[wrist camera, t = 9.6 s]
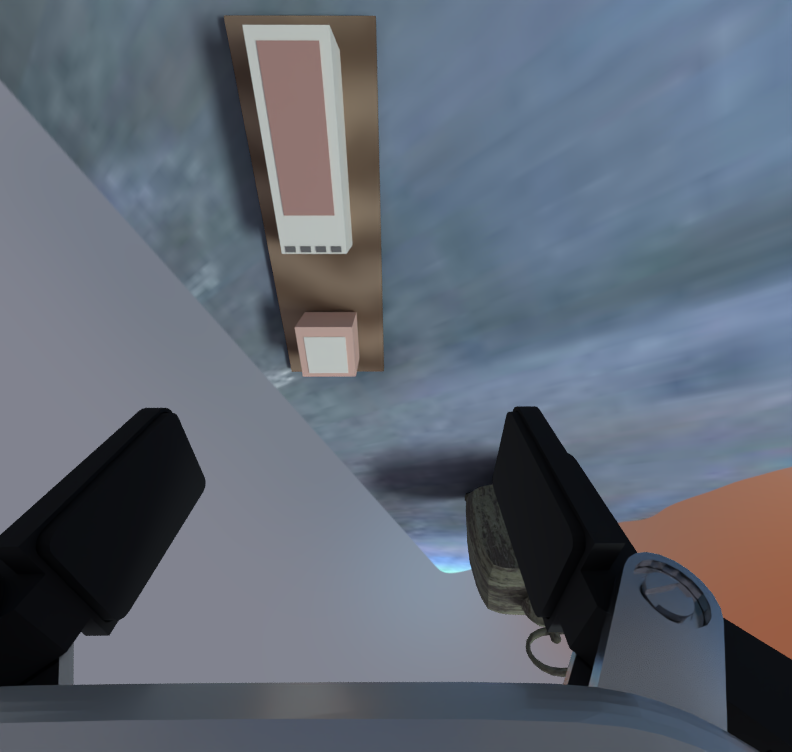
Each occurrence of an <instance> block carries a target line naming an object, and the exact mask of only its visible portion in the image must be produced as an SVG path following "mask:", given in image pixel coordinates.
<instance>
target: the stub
mask: <svg viewBox="0 0 792 752" xmlns="http://www.w3.org/2000/svg"><path fill="white" fill-rule="evenodd" d="M295 333H296V338H297V344H298V350H299V356H300V362H301V367H302V373H303V377H314V376H356V373H357V368H358V363H359V343H358V327H357V312H305V313H304V314H303V316H302V317H301V319H300V320H299V321H298V323H297V324H296V326H295Z"/></svg>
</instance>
